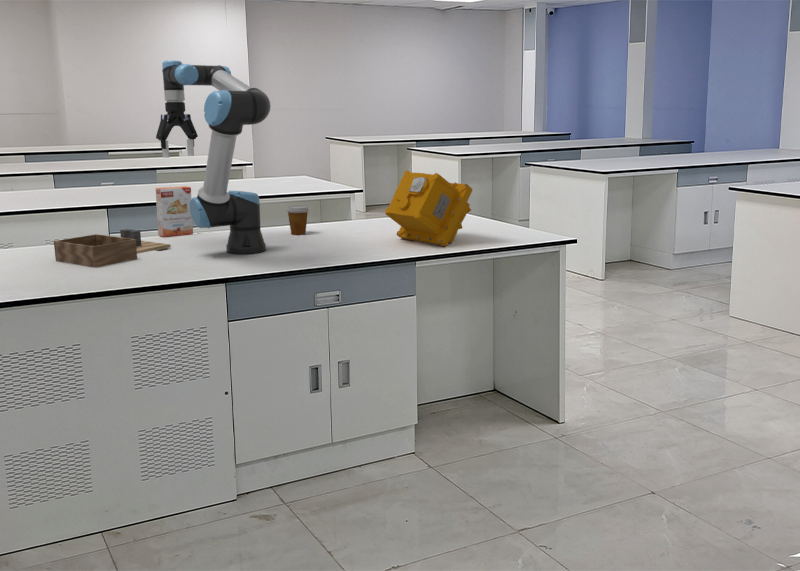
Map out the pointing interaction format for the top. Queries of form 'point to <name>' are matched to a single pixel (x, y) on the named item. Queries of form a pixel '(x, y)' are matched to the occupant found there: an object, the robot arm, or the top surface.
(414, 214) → the control box
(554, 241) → the top surface
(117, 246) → the storage box
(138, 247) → the lid
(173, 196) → the cracker box
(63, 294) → the top surface
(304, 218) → the disposable coffee cup
